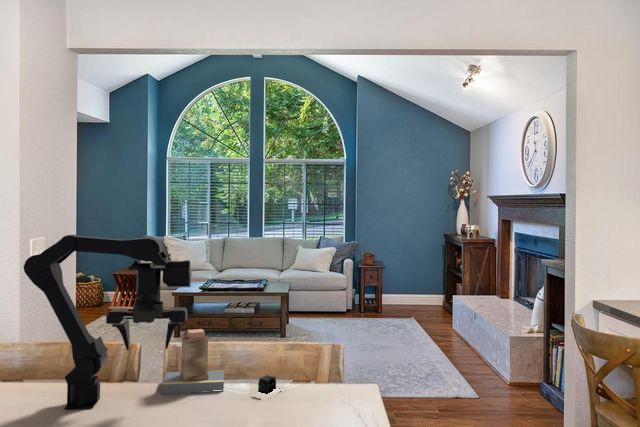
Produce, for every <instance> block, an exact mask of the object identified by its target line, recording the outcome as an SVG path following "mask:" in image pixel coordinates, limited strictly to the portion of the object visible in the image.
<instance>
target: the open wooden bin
mask: <svg viewBox="0 0 640 427" xmlns="http://www.w3.org/2000/svg"><path fill="white" fill-rule="evenodd" d="M180 356H181V358H180V360H181V363H180V364H181V365H180V369H181V370H180V371H179V372H180V375H181V377H182V379H183V381H184V382H187V381H195V380H203V379H208V371H209V370H208V366H209V364H208V362H209V361H208V359H209V358H208V357H209V338H208V336H206V335H205V339H197V340H188V339H187V335H182V336H181V355H180Z"/></svg>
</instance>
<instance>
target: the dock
mask: <svg viewBox="0 0 640 427" xmlns="http://www.w3.org/2000/svg"><path fill="white" fill-rule="evenodd" d="M224 384H225V370H224V369H222V370H220V369H219V370H218V369H217V370H208V379H203V380H195V381H187V382H184V381H183V379H182V377H181V375H180V371H168V372H165V375H164V378H163V380H162V383H161V385H160V386H161V388H160V390H161V391H160V392H161V395H169V394H170V393H175V394H188V393H187V392H190V393H189V394H192V393H191V392H197V393H204V392H203V391H213V390H223V389H224V388H225V387H224ZM224 390H225V389H224Z"/></svg>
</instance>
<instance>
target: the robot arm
mask: <svg viewBox="0 0 640 427" xmlns="http://www.w3.org/2000/svg"><path fill="white" fill-rule="evenodd" d="M74 252H78V253H79V252H80V253H81V252H82V253H83V252H84V253H93V254H95V253H97V254H109V255H120V256H124V257H128V258H131V259H133V260H134V262H133V263H132V264H131V265H130V266H128V270H130V271H136V294H135V295H136V296H135V301H134V303H133V307H132V311H129V310H128V307H125V308H124V307H122V308H121V307H119V308H117V307H114V308H112V309H111V310H110V311H109V312H108V313H106V315H105V316H106V317H105V323H106V324H108V325H111V326H112V327H113V328H116V329H117V330H118V331H119V333H120V335H121V337H122V340H123V343H124V345H125V348H126V351H130V348H131V338H130V335H131V333H130V320H132V322H133V323H134V324H139V323H147V324H149V323H150V324H151V323H153V322H154V321H155V319H157V320H158V319H159V320H161V319H162V320H163V319H164V320H165V319H168V320H169V321H168V323H167V331H166V337H165V338H166V339H165V344H164V345H165V350H168V349H169V348H168V347H169V345H170V343H171V339H172V336H173V333H174V330H176V326H177V327H179V326H181V324H182V323H185V322H186V321H187V319H188V309H187V307H186V306H184V307H183V306H182V307H181V306H180V307H171V308H170V309H169V310H164V307H165V306H164V301H161V294H162V293H161V290H162V289H161V288H162V286H161V284H164V285H166V287H167V288H191V285H192V270H191V261H190V260H189V259H188V260H186V259H185V260H170V258H169V257H168V256H167V254H166V253H165V252H164V250H163V244H162V242H161V241H160V240H159V239H158V238H157V237H151V236H150V237H141V238H140V237H139V238H130V239H128V238H127V239H119V238H107V237H95V236H81V235H77V234H68V235H67V234H66V235H65V236H62V238H60V239H59V240H58V241H57V242H55V243H54V244H53V245H51V246H49V247H47V248H46V249H44V250H43V251H42V252H41V253H38V254H34V255H31V256H29V257H28V258H27V259H26V260H25V262H24V264H23V271H24V273H25V275H26V276H27V278H28V279H29V280H30V282H32V284H33V285H34V286H36V287H37V288H38V289H39V290H41V291H42V293H44V295H45V297H46V299H47V301H48V302H49V304H50V307H51V308H52V310H53V312H54V315H55V316H56V317H57V319H58V322H59V323H60V325H61V327H62V330H63V331H64V333H65V335H66V337H67V339H68V341H69V342H70V345H71V355H72V359H73V363H74V366H75V367H73V368H72V369H71V370H70V371H69V372H68V373H67V374H66V375H65V376H64V379H65V382H66V384H67V386H66V394H67V395H66V405H64V410H76V409H79V410H80V409H92V408H93V409H94V407H95V406H96V404H97V403H98V402H99V400H100V399H101V382H99V376H98V375H97V374H98V373H99V372H100V370H101V369H102V368H103V367H104V365H105V364H106V363H107V361H108V358H109V357H108V351H109V348H108V347H107V346H106V345H105V344H104V340H103V337H102V336H98V337H97V338H95V337H94V336H93V335H92V334H91V333H89V330H88V329H87V326H86V325H85V322H84V321H83V319H82V317H81V315H80V313H79V311H78V310H77V308H76V305H75V303H74V301H73V300H72V298H71V296H70V294H69V292H68V291H67V288H66V286H65V285H64V279H63V278H64V277H63V270H62V267H61V263H63V262H64V261H66V260H67V259H68V258H69V257H70V256H71V255H72V254H73V253H74ZM140 261H142V262H140ZM153 264H154V265H156V266H154V265H153ZM161 280H162V281H161Z"/></svg>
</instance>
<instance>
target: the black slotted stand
mask: <svg viewBox="0 0 640 427" xmlns="http://www.w3.org/2000/svg"><path fill="white" fill-rule="evenodd" d="M257 383H258V384H257V387H258V389H257V391H258V392H261V393H265V394H268V393H270V392H272V391H273V389H276V387H277V379H276V376H274V375H268V374H267V375H263V376H262V377H260V378H259V379H258V382H257Z"/></svg>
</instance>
